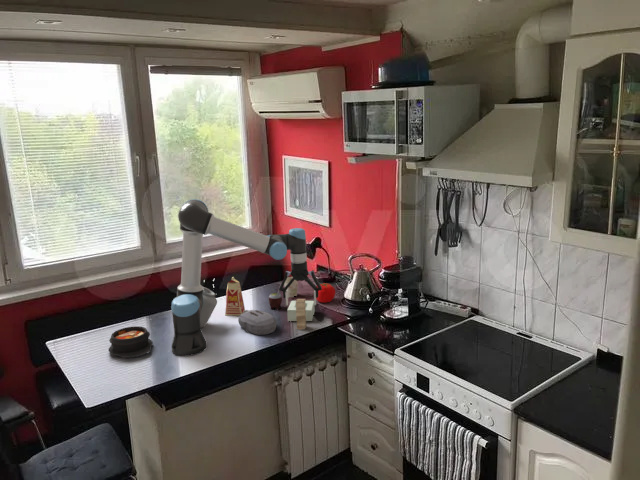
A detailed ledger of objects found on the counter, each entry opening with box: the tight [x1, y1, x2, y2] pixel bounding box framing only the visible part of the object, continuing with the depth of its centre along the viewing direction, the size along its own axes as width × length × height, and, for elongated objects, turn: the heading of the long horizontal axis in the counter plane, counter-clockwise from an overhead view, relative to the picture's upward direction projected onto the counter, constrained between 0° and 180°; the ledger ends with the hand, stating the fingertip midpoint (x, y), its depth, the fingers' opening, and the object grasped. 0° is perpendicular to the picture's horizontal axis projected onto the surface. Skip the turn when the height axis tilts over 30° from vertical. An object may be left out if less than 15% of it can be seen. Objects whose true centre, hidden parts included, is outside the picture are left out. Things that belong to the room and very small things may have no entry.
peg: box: [295, 298, 307, 330], centre depth 247 cm, size 4×4×14 cm
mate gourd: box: [268, 284, 283, 310], centre depth 275 cm, size 8×8×15 cm
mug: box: [283, 276, 299, 298], centre depth 292 cm, size 8×13×10 cm, turn 174°
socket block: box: [286, 300, 316, 322], centre depth 262 cm, size 14×12×6 cm
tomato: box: [316, 282, 336, 303], centre depth 283 cm, size 12×12×10 cm
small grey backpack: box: [237, 309, 278, 336], centre depth 248 cm, size 15×8×20 cm
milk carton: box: [224, 276, 246, 317], centre depth 269 cm, size 9×9×20 cm
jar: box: [200, 279, 218, 328], centre depth 252 cm, size 19×15×25 cm
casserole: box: [108, 325, 154, 359], centre depth 228 cm, size 25×19×8 cm
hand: (301, 304), depth 246 cm, fingers open, 13 cm apart
